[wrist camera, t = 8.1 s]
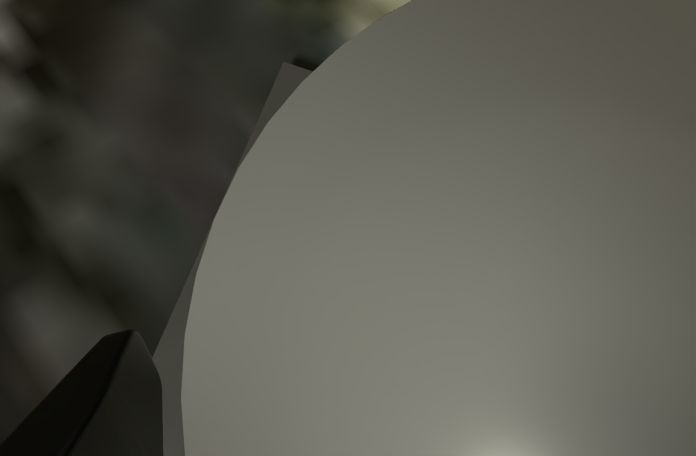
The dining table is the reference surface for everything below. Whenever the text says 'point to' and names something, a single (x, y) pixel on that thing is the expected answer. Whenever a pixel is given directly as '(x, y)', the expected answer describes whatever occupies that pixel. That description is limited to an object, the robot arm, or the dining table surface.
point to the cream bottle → (462, 244)
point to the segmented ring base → (172, 340)
